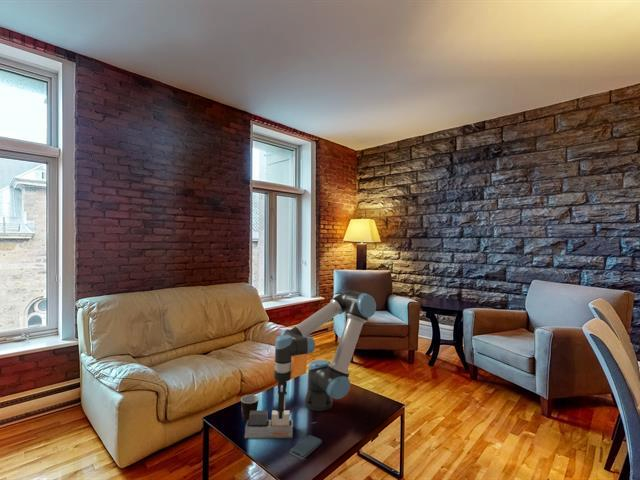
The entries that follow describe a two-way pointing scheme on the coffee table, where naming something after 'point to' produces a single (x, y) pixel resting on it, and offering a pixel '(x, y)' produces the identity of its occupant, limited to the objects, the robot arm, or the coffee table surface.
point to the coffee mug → (248, 405)
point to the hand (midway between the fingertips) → (281, 416)
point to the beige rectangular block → (275, 417)
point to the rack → (265, 427)
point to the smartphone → (305, 446)
